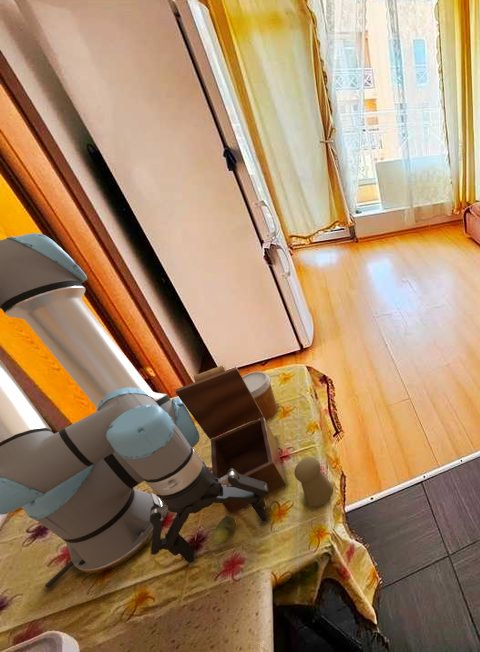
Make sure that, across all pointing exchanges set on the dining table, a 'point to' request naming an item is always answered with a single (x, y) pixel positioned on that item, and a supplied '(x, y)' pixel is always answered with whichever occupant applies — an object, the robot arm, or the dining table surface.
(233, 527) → the lime
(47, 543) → the dining table surface
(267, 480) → the box
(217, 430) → the lid
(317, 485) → the tan rounded upright piece
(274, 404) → the disposable coffee cup
